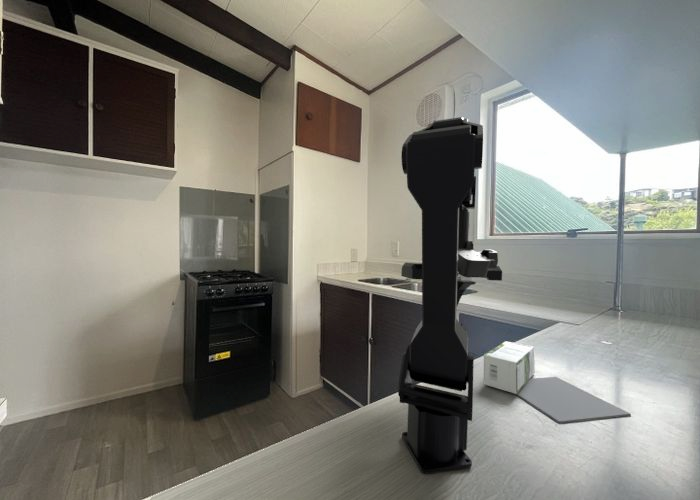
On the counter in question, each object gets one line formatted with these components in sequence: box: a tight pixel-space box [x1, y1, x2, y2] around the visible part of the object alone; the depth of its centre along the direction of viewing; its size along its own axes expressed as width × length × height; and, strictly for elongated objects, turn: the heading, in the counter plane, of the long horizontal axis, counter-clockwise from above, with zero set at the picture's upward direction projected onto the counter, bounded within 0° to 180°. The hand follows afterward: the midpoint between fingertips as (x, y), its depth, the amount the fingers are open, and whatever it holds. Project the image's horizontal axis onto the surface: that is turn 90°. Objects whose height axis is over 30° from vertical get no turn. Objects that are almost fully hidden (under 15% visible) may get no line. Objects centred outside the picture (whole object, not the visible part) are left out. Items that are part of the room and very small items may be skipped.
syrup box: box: [483, 340, 536, 395], centre depth 56 cm, size 6×6×14 cm
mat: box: [513, 376, 632, 424], centre depth 50 cm, size 14×13×1 cm
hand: (449, 315), depth 54 cm, fingers closed
